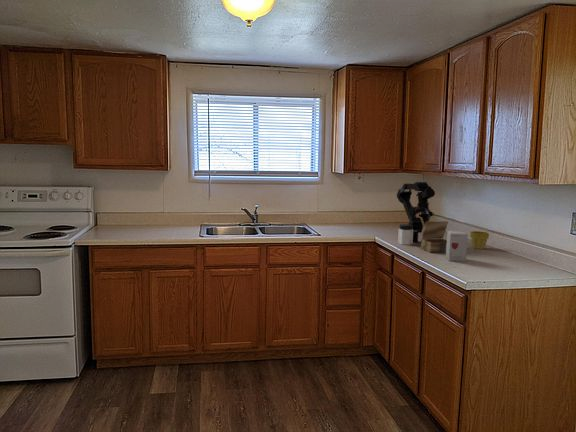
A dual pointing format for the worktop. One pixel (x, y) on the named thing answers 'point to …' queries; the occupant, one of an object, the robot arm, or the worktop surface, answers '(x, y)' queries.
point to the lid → (434, 230)
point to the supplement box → (456, 246)
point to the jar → (405, 234)
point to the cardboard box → (434, 245)
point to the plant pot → (479, 239)
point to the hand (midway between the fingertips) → (426, 226)
